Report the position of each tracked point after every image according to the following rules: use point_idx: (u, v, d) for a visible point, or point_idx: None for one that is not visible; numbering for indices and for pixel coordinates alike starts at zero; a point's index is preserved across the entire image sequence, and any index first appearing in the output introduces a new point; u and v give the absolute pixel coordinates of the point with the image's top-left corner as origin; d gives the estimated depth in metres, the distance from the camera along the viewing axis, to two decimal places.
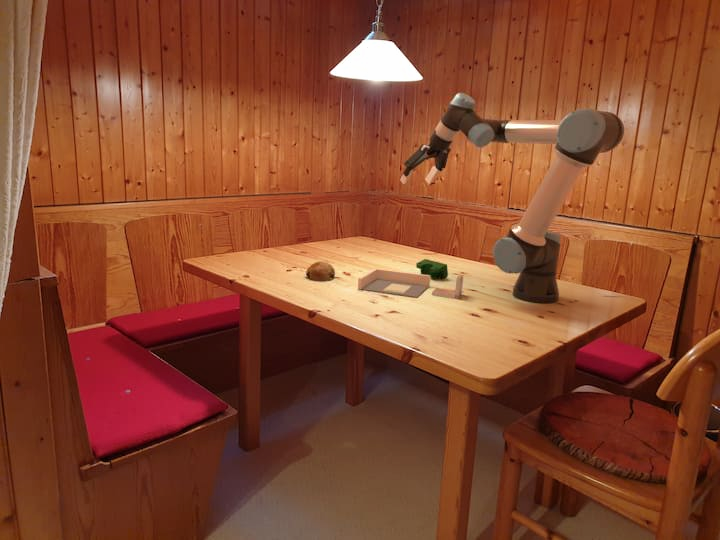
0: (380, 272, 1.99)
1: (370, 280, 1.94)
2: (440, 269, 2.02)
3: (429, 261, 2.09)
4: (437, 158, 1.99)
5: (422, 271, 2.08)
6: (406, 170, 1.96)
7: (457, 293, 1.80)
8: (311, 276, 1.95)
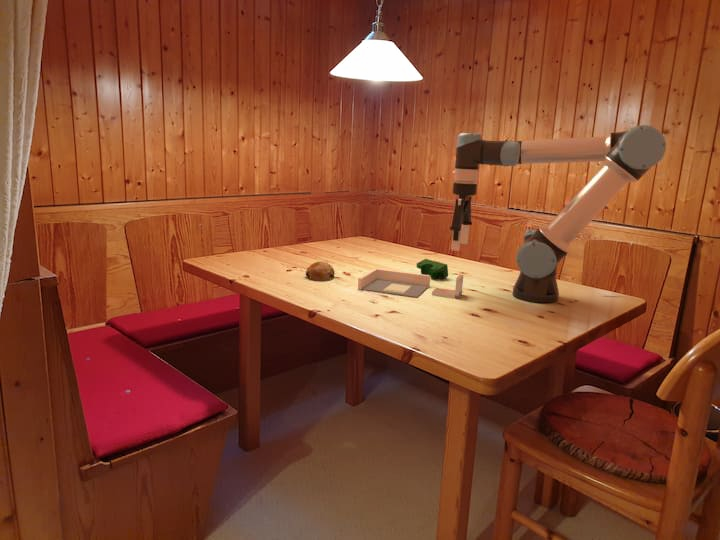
0: (380, 272, 1.99)
1: (370, 280, 1.94)
2: (440, 269, 2.02)
3: (429, 261, 2.09)
4: (466, 211, 1.80)
5: (422, 271, 2.08)
6: (455, 234, 1.71)
7: (457, 293, 1.80)
8: (311, 276, 1.95)
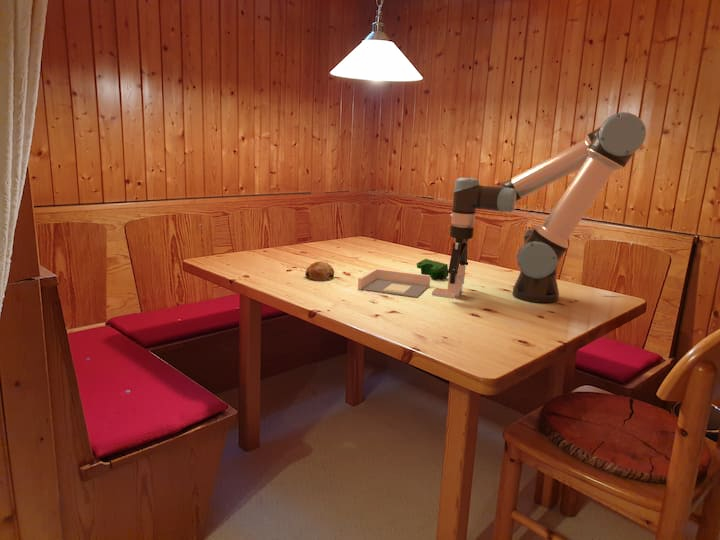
0: (380, 272, 1.99)
1: (370, 280, 1.94)
2: (440, 269, 2.02)
3: (429, 261, 2.09)
4: (463, 252, 1.83)
5: (422, 271, 2.08)
6: (452, 277, 1.74)
7: (457, 293, 1.80)
8: (310, 276, 1.95)
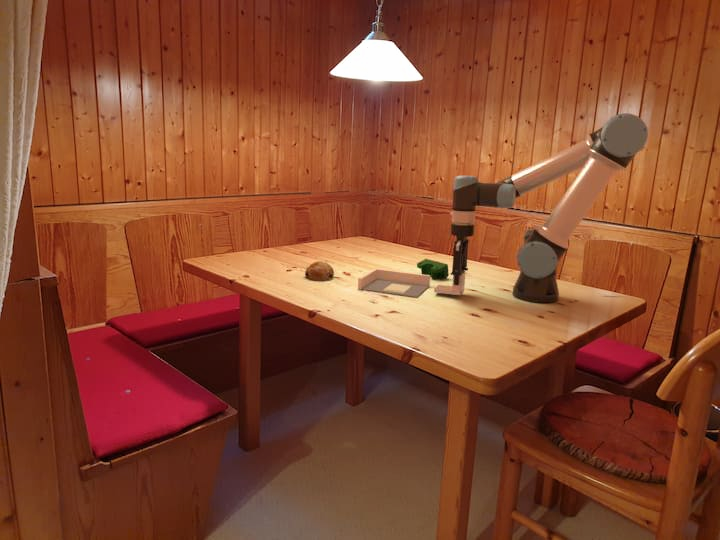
0: (380, 272, 1.99)
1: (370, 280, 1.94)
2: (441, 269, 2.02)
3: (430, 261, 2.10)
4: None
5: (423, 271, 2.08)
6: (456, 279, 1.77)
7: None
8: (310, 276, 1.95)
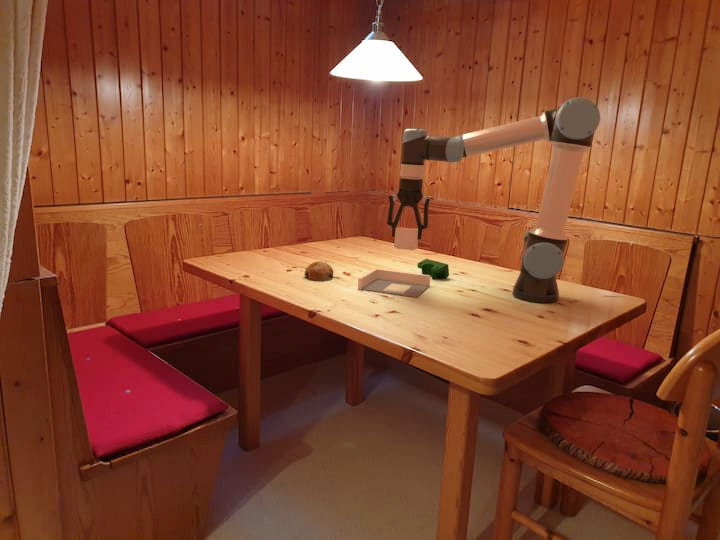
0: (380, 272, 1.99)
1: (370, 280, 1.94)
2: (441, 269, 2.03)
3: (430, 261, 2.10)
4: None
5: (423, 271, 2.08)
6: None
7: None
8: (309, 276, 1.95)
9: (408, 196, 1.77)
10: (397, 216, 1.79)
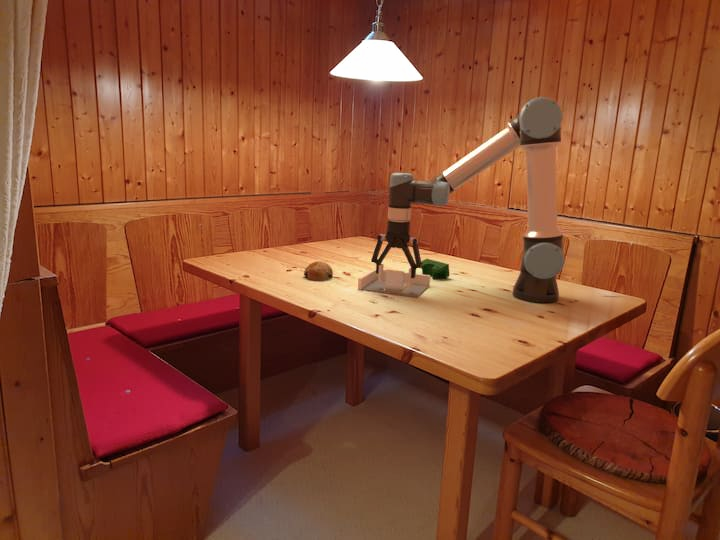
0: None
1: (370, 280, 1.94)
2: (442, 269, 2.03)
3: (431, 261, 2.10)
4: None
5: (424, 271, 2.08)
6: None
7: None
8: (309, 276, 1.95)
9: (396, 238, 1.80)
10: (382, 255, 1.83)
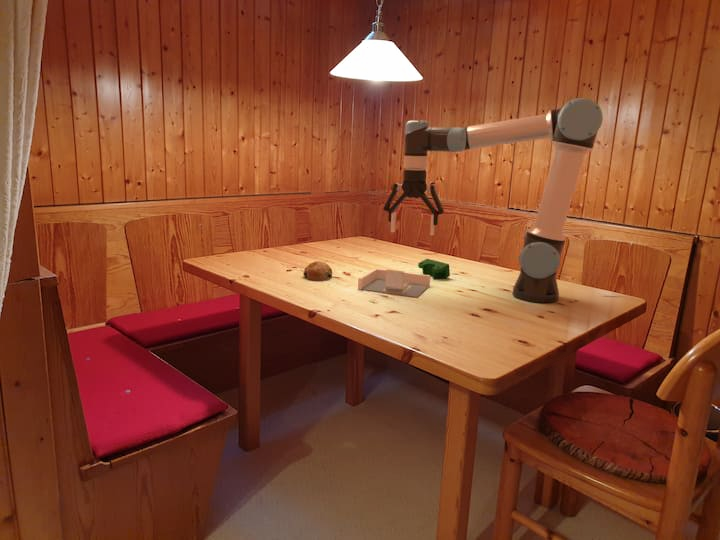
0: (380, 272, 1.99)
1: (370, 280, 1.94)
2: (442, 269, 2.03)
3: (431, 261, 2.10)
4: None
5: (424, 271, 2.09)
6: None
7: None
8: (308, 276, 1.95)
9: (412, 189, 1.79)
10: (396, 203, 1.81)
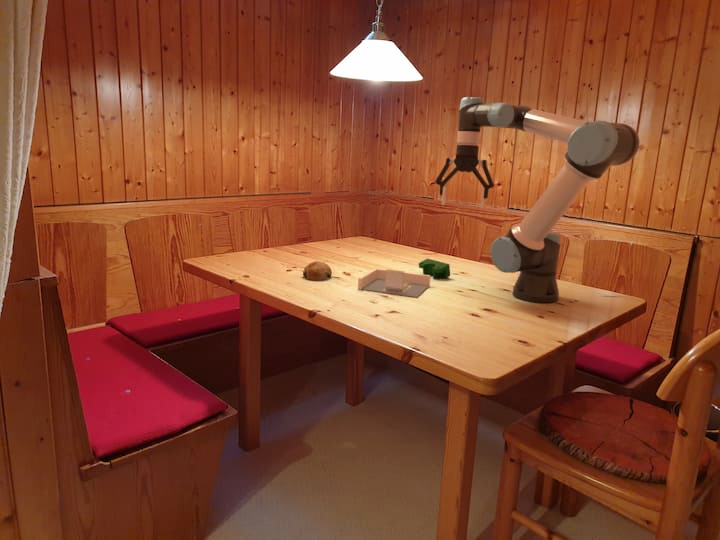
0: (380, 272, 1.99)
1: (370, 280, 1.94)
2: (442, 269, 2.03)
3: (431, 261, 2.10)
4: (474, 173, 1.87)
5: (424, 271, 2.09)
6: None
7: None
8: (308, 276, 1.96)
9: (465, 163, 1.87)
10: (448, 177, 1.90)
